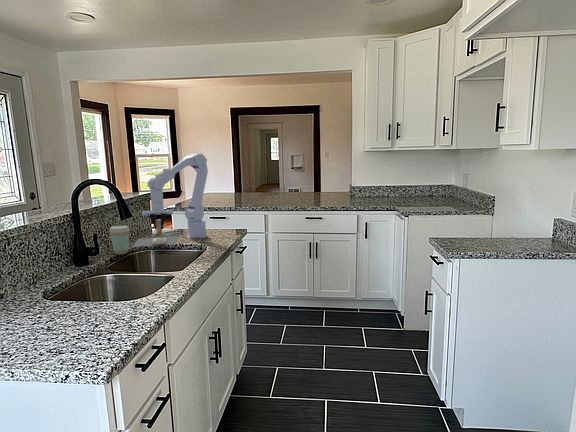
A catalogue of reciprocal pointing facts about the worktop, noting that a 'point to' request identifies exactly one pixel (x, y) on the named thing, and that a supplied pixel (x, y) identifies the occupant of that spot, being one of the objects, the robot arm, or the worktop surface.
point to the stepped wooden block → (158, 228)
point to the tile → (159, 241)
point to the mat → (149, 243)
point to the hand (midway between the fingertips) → (159, 229)
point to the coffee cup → (120, 238)
